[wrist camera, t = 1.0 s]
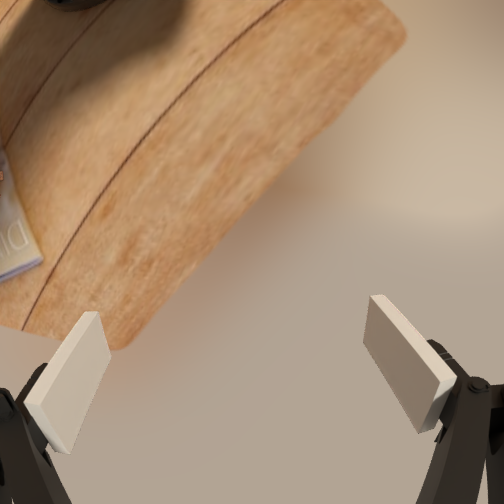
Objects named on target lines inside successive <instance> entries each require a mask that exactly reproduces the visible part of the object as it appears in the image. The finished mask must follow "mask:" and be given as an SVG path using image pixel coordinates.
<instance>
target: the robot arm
mask: <svg viewBox="0 0 504 504" xmlns="http://www.w3.org/2000/svg"><path fill="white" fill-rule="evenodd" d="M44 1H45V2H47V3H48V4H49V5H51V6H52V7H54V8H56V9H58V10H61V11H78V10H83V9H87V8H90V7H92V6H95V5H97V4H100V3H102V2H104V1H105V0H44ZM363 343H364V345H365V347H366V348H367V349H368V351H369V353H370V355H371V356H372V358H373V359H374V361H375V363H376V364H377V366H378V367H379V369H380V371H381V372H382V374H383V376H384V377H385V379H386V381H387V382H388V384H389V385H390V387H391V389H392V390H393V392H394V394H395V395H396V397H397V399H398V400H399V402H400V404H401V405H402V407H403V409H404V411H405V412H406V414H407V416H408V417H409V419H410V421H411V423H412V424H413V426H414V428H415V429H416V431H417V433H418V434H419V433H422V432H425V431H428V430H431V429H434V427H435V425H436V423H437V421H438V419H440V420H441V422H442V423H443V426H442V428H441V430H440V432H439V434H438V436H437V438H436V440H435V441H434V442H437V444H436V448H435V451H434V454H433V457H432V460H431V464H430V466H429V469H428V472H427V475H426V478H425V481H424V484H423V487H422V489H421V492H420V494H419V497H418V499H417V502H416V504H476V502H477V498H478V493H479V489H480V484H481V479H482V474H483V469H484V463H485V460H486V470H487V484H488V504H504V384H502V385H490V384H489V383H488V382H487V381H486V380H484V379H482V378H480V377H473V376H472V377H470V376H469V375H468V374H467V373H466V372H465V371H464V370H463V368H462V367H461V366H460V365H459V364H458V363H457V362H456V361H455V359H452V356H451V355H450V354H449V353H447V351H446V350H445V348H444V347H443V346H442V345H441V344H439V343H437V342H435V341H434V340H432V339H431V340H425V339H424V338H423V337H422V336H421V334H420V333H419V332H418V331H417V330H416V329H415V328H414V327H413V326H412V325H411V323H410V322H409V321H408V320H407V319H406V318H405V317H404V316H403V315H402V314H401V312H400V311H399V310H398V309H397V308H396V307H395V306H394V305H393V304H392V303H391V302H390V301H389V300H388V299H387V297H386V296H385V295H384V294H383V295H374V296H370V299H369V307H368V314H367V321H366V327H365V334H364V339H363ZM111 358H112V357H111V354H110V351H109V347H108V344H107V341H106V337H105V334H104V330H103V327H102V323H101V320H100V316H99V312H84V314H83V315H82V316H81V318H80V319H79V320H78V322H77V323H76V325H75V326H74V327H73V329H72V330H71V331H70V333H69V334H68V336H67V337H66V338H65V340H64V341H63V343H62V344H61V346H60V347H59V349H58V350H57V351H56V353H55V355H54V356H53V357H52V359H51V360H50V362H49V363H43V364H42V365H41V366H39V367H38V368H37V369H36V370H35V371H34V373H33V374H32V376H31V379H29V380H28V382H27V385H25V386H24V388H23V389H22V391H21V392H20V394H19V395H18V397H17V399H16V400H15V401H14V399H13V397H12V395H11V394H10V392H9V391H8V390H7V389H5V388H0V504H12V499H13V502H14V504H72V503H71V501H70V499H69V497H68V495H67V493H66V491H65V489H64V487H63V485H62V483H61V481H60V479H59V477H58V474H57V472H56V470H55V468H54V466H53V463H52V461H51V459H50V456H49V454H48V452H47V451H46V450H45V448H46V446H47V444H48V443H49V444H50V445H51V447H52V449H53V450H54V451H55V452H60V453H64V454H68V455H70V454H71V452H72V449H73V446H74V444H75V441H76V438H77V436H78V433H79V431H80V429H81V426H82V423H83V421H84V419H85V417H86V414H87V412H88V409H89V407H90V405H91V402H92V400H93V397H94V395H95V393H96V391H97V388H98V386H99V384H100V382H101V379H102V377H103V375H104V373H105V371H106V368H107V366H108V364H109V362H110V360H111Z"/></svg>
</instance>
